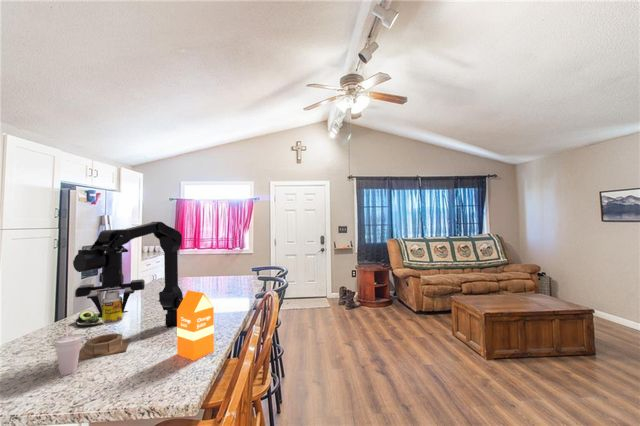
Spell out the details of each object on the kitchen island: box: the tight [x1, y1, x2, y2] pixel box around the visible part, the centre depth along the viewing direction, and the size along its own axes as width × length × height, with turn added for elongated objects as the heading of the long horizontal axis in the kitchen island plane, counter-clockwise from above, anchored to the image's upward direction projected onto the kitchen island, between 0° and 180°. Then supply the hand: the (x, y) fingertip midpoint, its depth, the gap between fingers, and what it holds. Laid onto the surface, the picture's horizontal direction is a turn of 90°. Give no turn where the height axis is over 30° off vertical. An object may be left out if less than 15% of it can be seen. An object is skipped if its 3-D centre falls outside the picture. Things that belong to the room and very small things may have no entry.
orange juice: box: [176, 289, 215, 361], centre depth 98 cm, size 8×9×20 cm
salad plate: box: [75, 310, 129, 328], centre depth 134 cm, size 19×18×5 cm
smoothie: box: [53, 322, 84, 376], centre depth 86 cm, size 6×6×14 cm
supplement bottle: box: [101, 290, 123, 326], centre depth 100 cm, size 6×6×10 cm
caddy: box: [78, 332, 132, 361], centre depth 101 cm, size 14×12×4 cm
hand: (112, 313), depth 100 cm, fingers closed on supplement bottle, 6 cm apart
